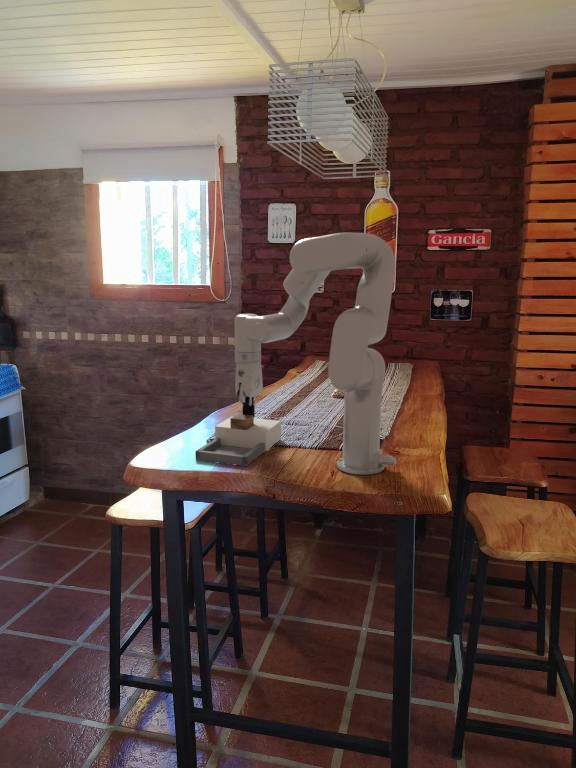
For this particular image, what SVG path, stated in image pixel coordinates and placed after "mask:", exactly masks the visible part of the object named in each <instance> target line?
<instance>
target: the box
mask: <svg viewBox="0 0 576 768" xmlns="http://www.w3.org/2000/svg"><path fill="white" fill-rule="evenodd" d="M262 453H263V454H264V453H266V452H265V443H260V444H258V445H257V446H256V447H254V448H244V447H236V446H227V445H221V439H220V438H216V439H215V438H214V439H212V440H211V441H209V442H208V443H206V444H205V445H203V446H201V447H200V448H198V449H196V450H195V461H198V462H207V463H213V462H219V463H218V464H221V463H229V464H236V465H243V466H242V467H244V466H247V465H248V464H249V463H250V462H252V461H253V460H254V459H255V460H257V457H258V456H259V457H260V456H262V455H263V454H262ZM259 457H258V458H259ZM255 460H254V461H255ZM254 461H253V462H254ZM253 462H252V463H253ZM229 464H228V465H229ZM250 464H251V463H250ZM250 464H249V465H250ZM236 465H235V466H236ZM249 465H248V466H249ZM248 466H247V467H248Z"/></svg>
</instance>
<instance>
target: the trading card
mask: <svg viewBox="0 0 576 768" xmlns="http://www.w3.org/2000/svg"><path fill="white" fill-rule="evenodd" d="M321 426H327V427H336V428H341V429H343V426H339V425H338V426H337V425H333V424H332V425H331V424H326V423H322V424H320V425H317V426H315V427H313V428H311V429H308V430H306V431H305V432H306V433H308V432H310V431H313V430H314V428H315V429H317V428H319V427H321ZM312 429H313V430H312ZM307 431H308V432H307ZM305 432H303V433H304V434H306V433H305ZM303 433H300V434H299V435H300V436H301V434H302V435H304V434H303ZM338 435H339V436H341V435H343V432H342V433H340V434H338ZM338 435H336V436H338ZM339 436H338V437H339Z"/></svg>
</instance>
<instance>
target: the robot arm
mask: <svg viewBox="0 0 576 768" xmlns="http://www.w3.org/2000/svg"><path fill="white" fill-rule="evenodd" d="M289 264H290V266H291V267H292V269H291V270H290V272H289V273H288V275H287V276H286V278H284V280H283V284H282V285H283V286H282V287H283V288H284V290H285V292H286V293H287V294H288V299H287V300H286V302H285V304H284V305H283V306H282V308H281V309H280V310H279V312H278V313H273V314H267V315H266V314H265V315H259V314H255V313H240V314H237V315H235V317H234V362H235V363H236V367H235V380H234V382H235V383H234V384H235V385H234V386H235V388H234V389H235V396H236V397H238V402H239V403H241V406H242V414H243V415H253V416H254V418H256V417H255V415H256V414H255V413H256V412H255V410H256V405H255V404H256V396H257V395H259V394H261V393H262V392H263V390H264V384H263V369H262V344H267V343H271V342H278V341H282V340H286V339H288V338H289V337H291V336H292V335H293V334H294V333H295V332H296V331H297V330H298V328H299V327H300V325H302V323H303V322H304V320H305V318H306V316H307V313H308V311H309V307H310V300H311V299H312V297H313V296H314V294H316V293H317V290H318V289H319V288H320V286H321V285H322V283H324V281H325V280H326V278H327V277H328V276H329V275H330V273H331V272H332V271H338V270H351V269H361V270H362V275H361V277H360V280H359V282H358V285H357V290H356V299H355V303H354V304H355V305H354V307H353V308H349V309H346V310H344V311H342V312H341V314H340V315H339V316H338V317H337V319H335V322H334V324H333V330H332V334H331V335H332V336H331V341H330V350H329V357H328V367H327V373H328V378H329V380H330V383H331V385H332V386H333V387H334V388H335V389H336V390H338V391H341V392H345V394H344V401H343V423H342V424H343V426H342V427H343V428H342V429H343V432H342V433H343V434H342V435H343V436H342V457H340V458H338V459H337V461H336V467H337V469H338V470H340V471H341V472H344V473H347V474H351V475H358V476H359V475H360V476H362V475H364V476H367V475H374V474H379V473H380V472H383V471H384V470H385V468H386V467H385V466H386V465H387V466H394V467H395V466H396V462H397V461H396V460H397V459H396V458H395V457H393V455H385V453H383V449H382V448H380V443H381V442H380V441H381V440H380V439H381V413H382V396H383V389H384V388H383V387H384V382H385V376H386V363H385V360H384V359H385V358H384V357H383V355H382V354H381V353H380V352H379V351H378V350H376V349H374V348H372V347H371V348H370V347H369V346H371V345H374V344H377V343H379V342H380V341H381V340H383V339H384V337H385V336H386V334H387V330H388V323H389V316H390V309H391V304H392V303H391V302H392V294H393V287H394V281H395V279H396V278H395V276H396V268H397V267H396V265H397V263H396V257H395V254H394V251H393V249H392V247H391V246H390V245H389V244H388V243H387V241H385V240H384V239H383V238H382V237H379V236H377V235H376V234H375V235H374V234H372V233H368V232H367V233H366V232H349V231H348V232H347V231H345V232H337V233H332V234H330V233H329V234H326V235H321V236H314V237H307V238H302V239H300V240H298V241H297V242H296V243H294V245H293V246H292V248H291V250H290V252H289Z"/></svg>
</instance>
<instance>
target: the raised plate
mask: <svg viewBox="0 0 576 768" xmlns="http://www.w3.org/2000/svg"><path fill="white" fill-rule="evenodd" d="M234 416H235V415H232V416H230V417H229V418H226V419H225V420H224V421H221V422H220V423H218V424H216V425H214V430H215V431H214V434H215V436H214V437H215V438H214V439H216V438H220V439H221V445H227V446H236V447H244V448H254V447H256V446H257V445H258V444H260V443H265V452H264V453H267V452H268V451H270V450H271V449H272V448H273V447H274V446H275V445H274V443H276V442H277V441H278V440H280V439H281V440H282V421H281V420H275V419H265V418H256V417H254V426H252V427H250V428H249V429H247V430H241V429H232V428H231V421H230V418H232V417H234ZM281 440H280V441H281ZM273 445H274V446H273ZM272 446H273V447H272ZM271 447H272V448H271ZM270 448H271V449H270ZM266 451H267V452H266Z"/></svg>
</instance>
